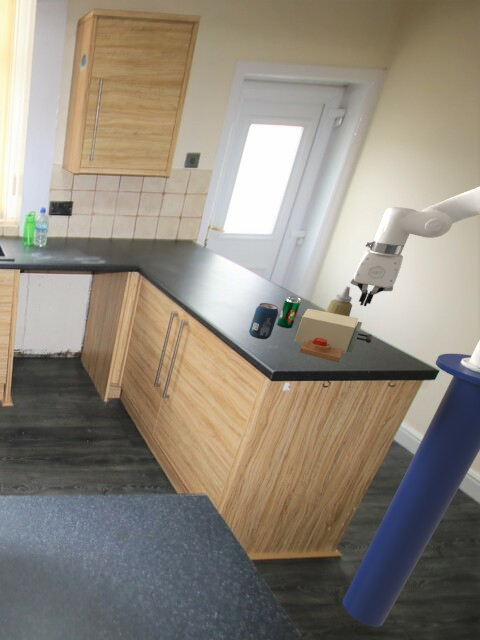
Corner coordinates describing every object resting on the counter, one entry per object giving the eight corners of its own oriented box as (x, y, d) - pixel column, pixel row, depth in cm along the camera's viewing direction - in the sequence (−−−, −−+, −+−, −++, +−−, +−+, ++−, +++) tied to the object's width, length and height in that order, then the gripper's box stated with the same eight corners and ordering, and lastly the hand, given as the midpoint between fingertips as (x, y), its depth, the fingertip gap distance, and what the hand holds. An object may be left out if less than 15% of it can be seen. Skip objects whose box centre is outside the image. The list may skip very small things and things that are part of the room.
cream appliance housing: (348, 343, 169) (358, 318, 165) (344, 354, 160) (354, 327, 156) (299, 332, 177) (308, 308, 174) (294, 342, 169) (302, 316, 165)
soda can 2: (278, 323, 185) (288, 295, 180) (293, 327, 182) (303, 298, 177) (274, 327, 182) (284, 298, 177) (289, 331, 179) (299, 301, 173)
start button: (326, 344, 159) (328, 339, 158) (325, 347, 157) (326, 342, 156) (313, 341, 161) (315, 336, 161) (312, 344, 159) (313, 339, 158)
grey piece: (367, 346, 165) (376, 325, 162) (365, 356, 157) (374, 334, 153) (308, 332, 175) (315, 312, 172) (303, 341, 167) (310, 320, 164)
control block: (340, 355, 159) (344, 345, 158) (338, 362, 154) (342, 352, 152) (302, 345, 166) (305, 336, 164) (298, 352, 160) (302, 342, 159)
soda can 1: (257, 331, 176) (267, 301, 171) (274, 339, 171) (284, 308, 165) (243, 333, 174) (253, 303, 169) (259, 341, 168) (270, 310, 163)
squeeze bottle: (317, 332, 178) (334, 287, 170) (317, 325, 184) (334, 281, 176) (343, 338, 174) (362, 292, 166) (342, 331, 180) (361, 286, 172)
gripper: (355, 246, 147) (334, 301, 155) (417, 255, 138) (392, 313, 146) (357, 243, 153) (337, 296, 160) (418, 251, 144) (393, 308, 151)
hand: (363, 304), depth 153 cm, fingers closed
